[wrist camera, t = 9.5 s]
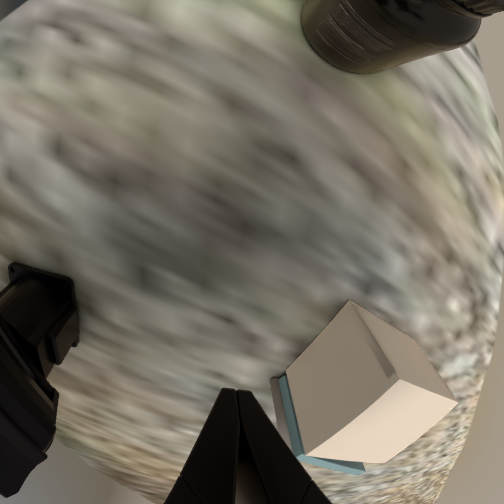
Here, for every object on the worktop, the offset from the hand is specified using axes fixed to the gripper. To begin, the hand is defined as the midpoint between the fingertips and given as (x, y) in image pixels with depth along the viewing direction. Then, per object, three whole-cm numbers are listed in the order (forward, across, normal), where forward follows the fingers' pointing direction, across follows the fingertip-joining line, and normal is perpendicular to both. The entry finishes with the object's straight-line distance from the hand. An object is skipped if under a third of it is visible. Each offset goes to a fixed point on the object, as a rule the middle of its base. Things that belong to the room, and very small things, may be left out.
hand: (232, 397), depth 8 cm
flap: (+12, -10, +13) cm, 20 cm away
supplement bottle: (+12, -4, -16) cm, 21 cm away
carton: (+12, -12, +8) cm, 19 cm away
